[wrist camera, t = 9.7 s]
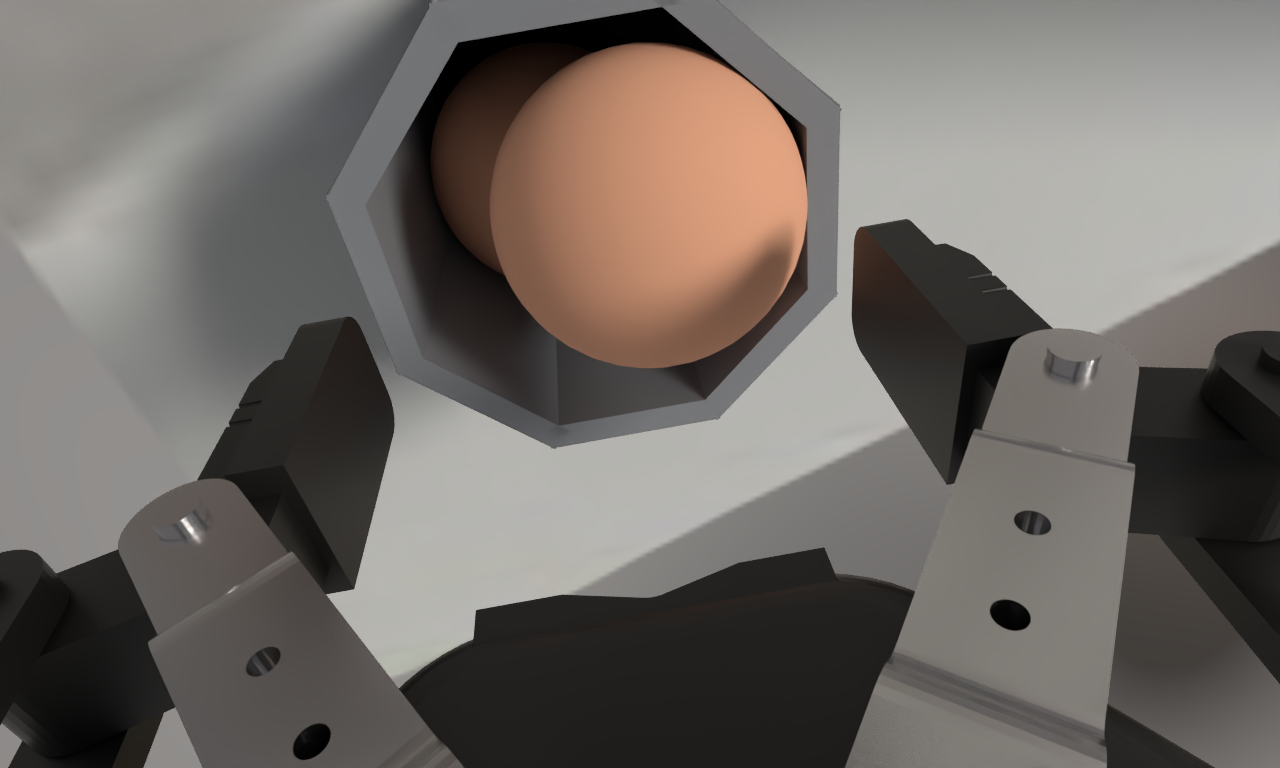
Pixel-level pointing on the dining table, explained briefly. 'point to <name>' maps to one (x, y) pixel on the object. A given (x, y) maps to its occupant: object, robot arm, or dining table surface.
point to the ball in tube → (485, 135)
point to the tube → (482, 298)
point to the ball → (648, 205)
